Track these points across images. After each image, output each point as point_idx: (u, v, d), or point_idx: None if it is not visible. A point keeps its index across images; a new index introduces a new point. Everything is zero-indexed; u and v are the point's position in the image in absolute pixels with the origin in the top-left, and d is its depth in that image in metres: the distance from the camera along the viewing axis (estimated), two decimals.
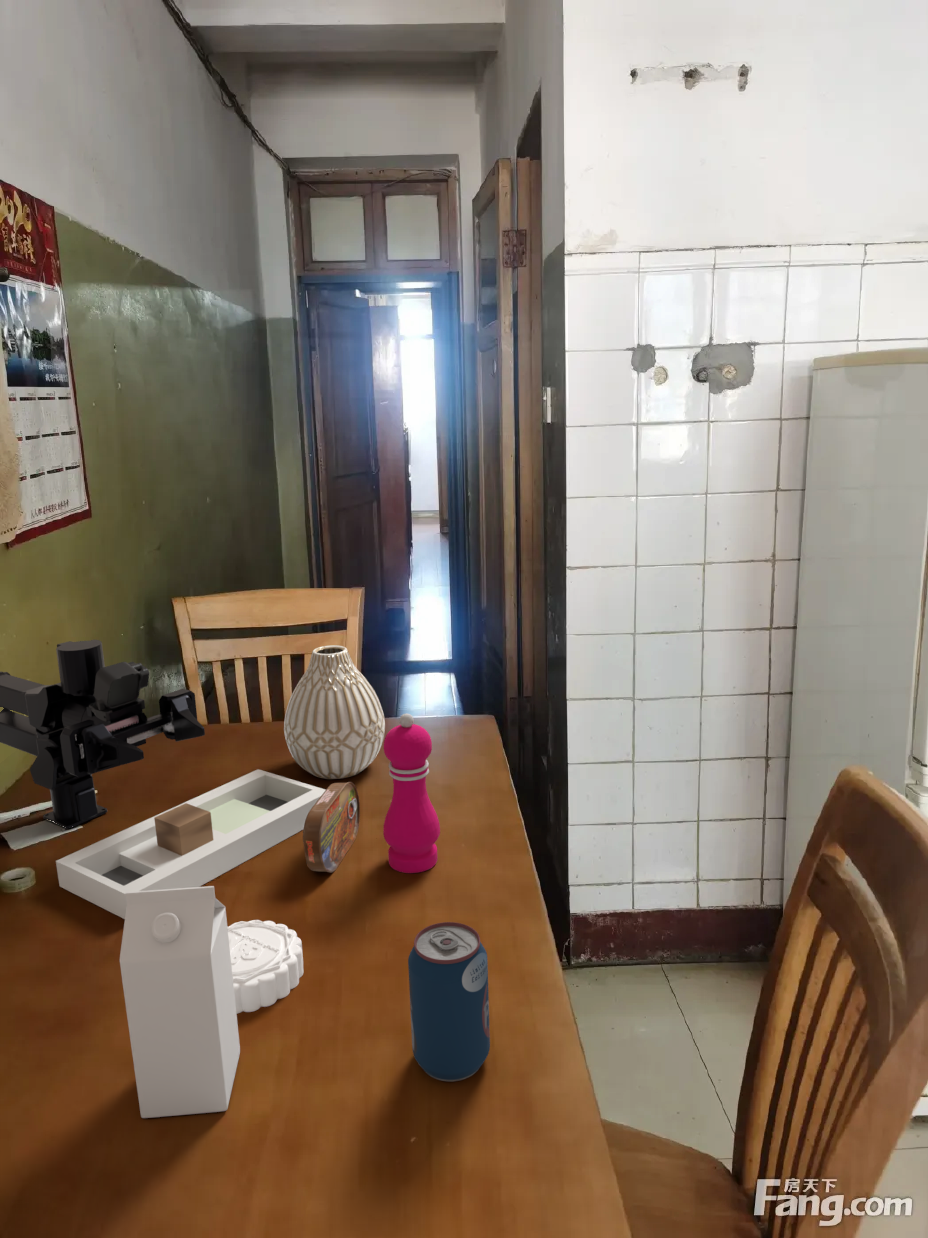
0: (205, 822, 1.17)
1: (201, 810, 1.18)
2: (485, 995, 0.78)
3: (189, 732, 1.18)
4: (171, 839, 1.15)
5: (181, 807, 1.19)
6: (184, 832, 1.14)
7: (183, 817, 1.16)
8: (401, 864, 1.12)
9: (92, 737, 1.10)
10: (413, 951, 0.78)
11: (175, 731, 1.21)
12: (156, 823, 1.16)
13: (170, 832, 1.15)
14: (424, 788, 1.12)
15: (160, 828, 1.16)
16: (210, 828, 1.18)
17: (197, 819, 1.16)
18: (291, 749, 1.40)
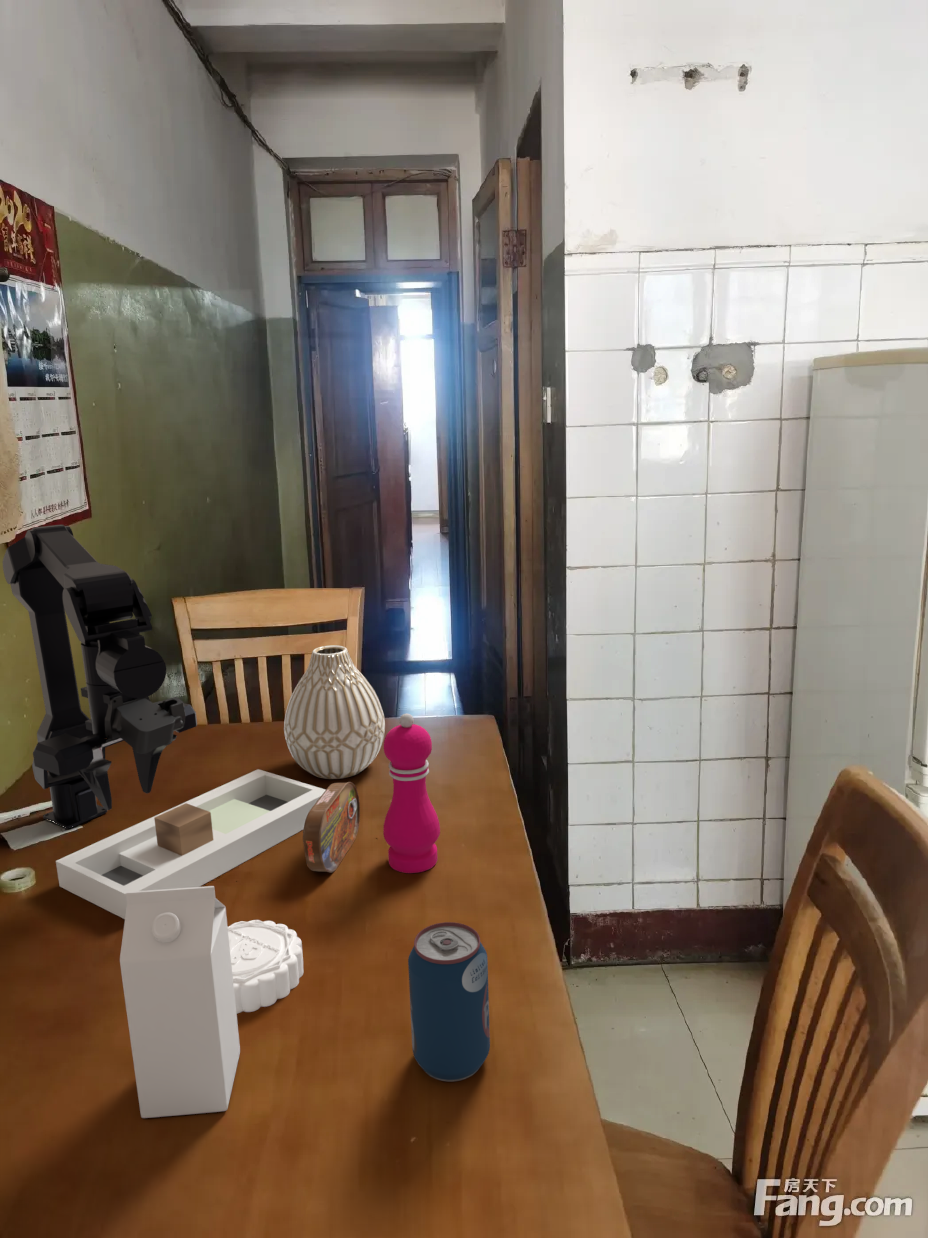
0: (205, 822, 1.17)
1: (201, 810, 1.18)
2: (485, 995, 0.78)
3: (140, 769, 1.11)
4: (171, 839, 1.15)
5: (181, 807, 1.19)
6: (184, 832, 1.14)
7: (183, 817, 1.16)
8: (401, 864, 1.12)
9: None
10: (413, 951, 0.78)
11: None
12: (156, 823, 1.16)
13: (170, 832, 1.15)
14: (424, 788, 1.12)
15: (160, 828, 1.16)
16: (210, 828, 1.18)
17: (197, 819, 1.16)
18: (291, 749, 1.40)
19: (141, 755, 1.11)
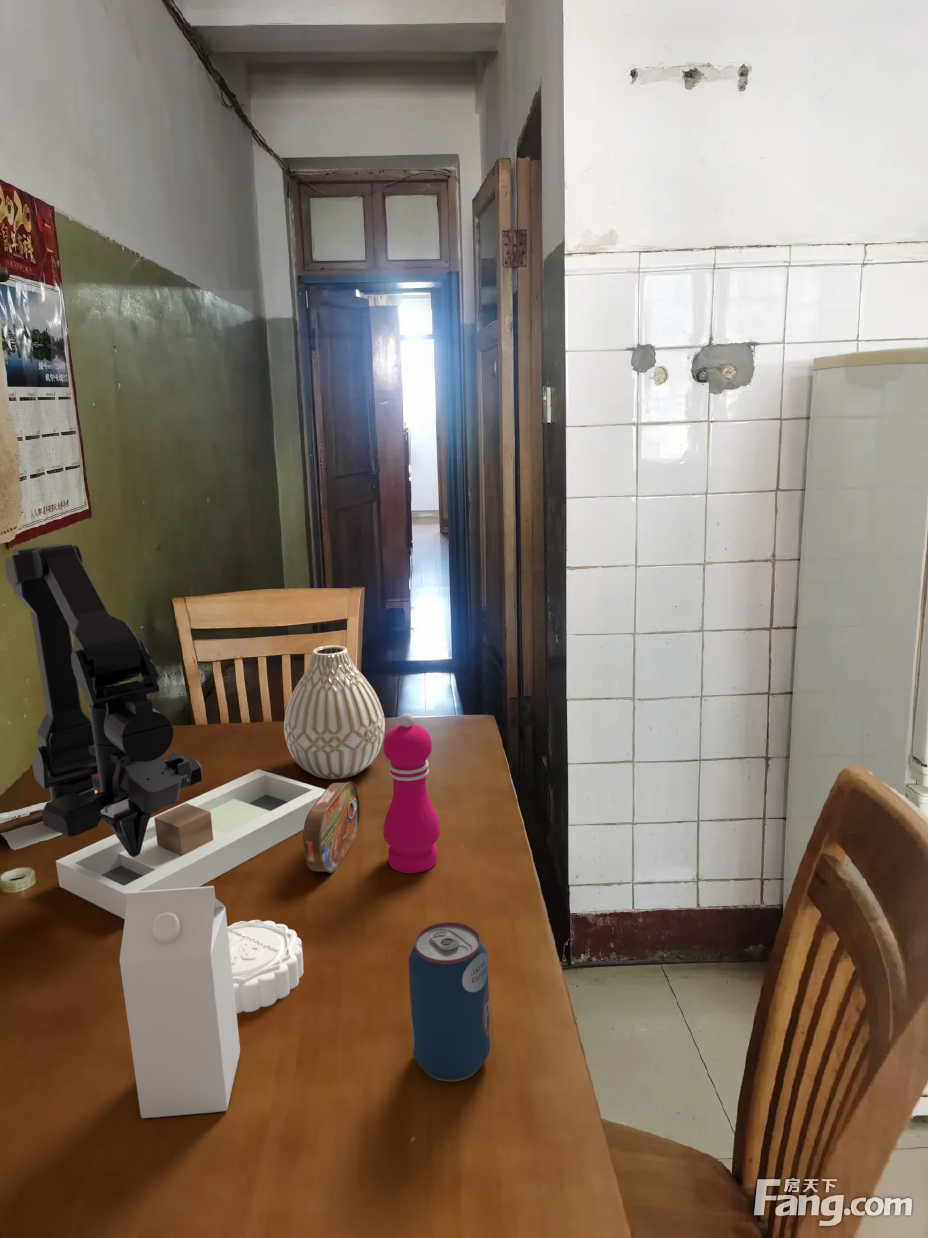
0: (205, 822, 1.17)
1: (201, 810, 1.18)
2: (485, 995, 0.78)
3: None
4: (171, 839, 1.15)
5: (181, 807, 1.19)
6: (184, 832, 1.14)
7: (183, 817, 1.16)
8: (401, 864, 1.12)
9: None
10: (413, 951, 0.78)
11: None
12: (156, 823, 1.16)
13: (170, 832, 1.15)
14: (424, 788, 1.12)
15: (160, 828, 1.16)
16: (210, 828, 1.18)
17: (197, 819, 1.16)
18: (291, 749, 1.40)
19: None
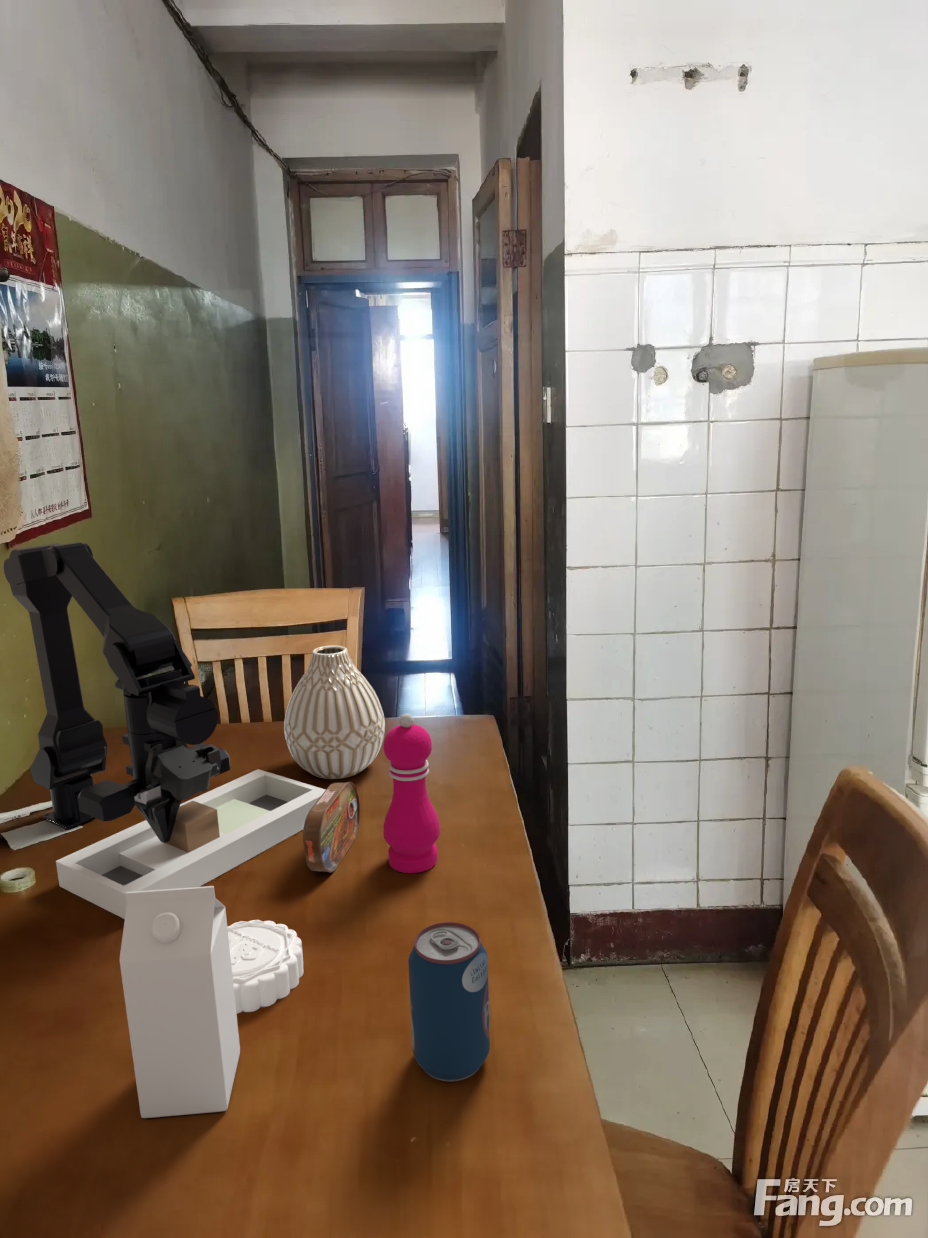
0: (211, 819, 1.18)
1: (208, 807, 1.19)
2: (485, 995, 0.78)
3: None
4: (178, 836, 1.16)
5: (188, 804, 1.20)
6: (190, 829, 1.15)
7: (189, 814, 1.17)
8: (401, 864, 1.12)
9: None
10: (413, 951, 0.78)
11: None
12: None
13: (177, 829, 1.15)
14: (424, 788, 1.12)
15: None
16: (216, 825, 1.18)
17: (203, 816, 1.16)
18: (291, 749, 1.40)
19: None
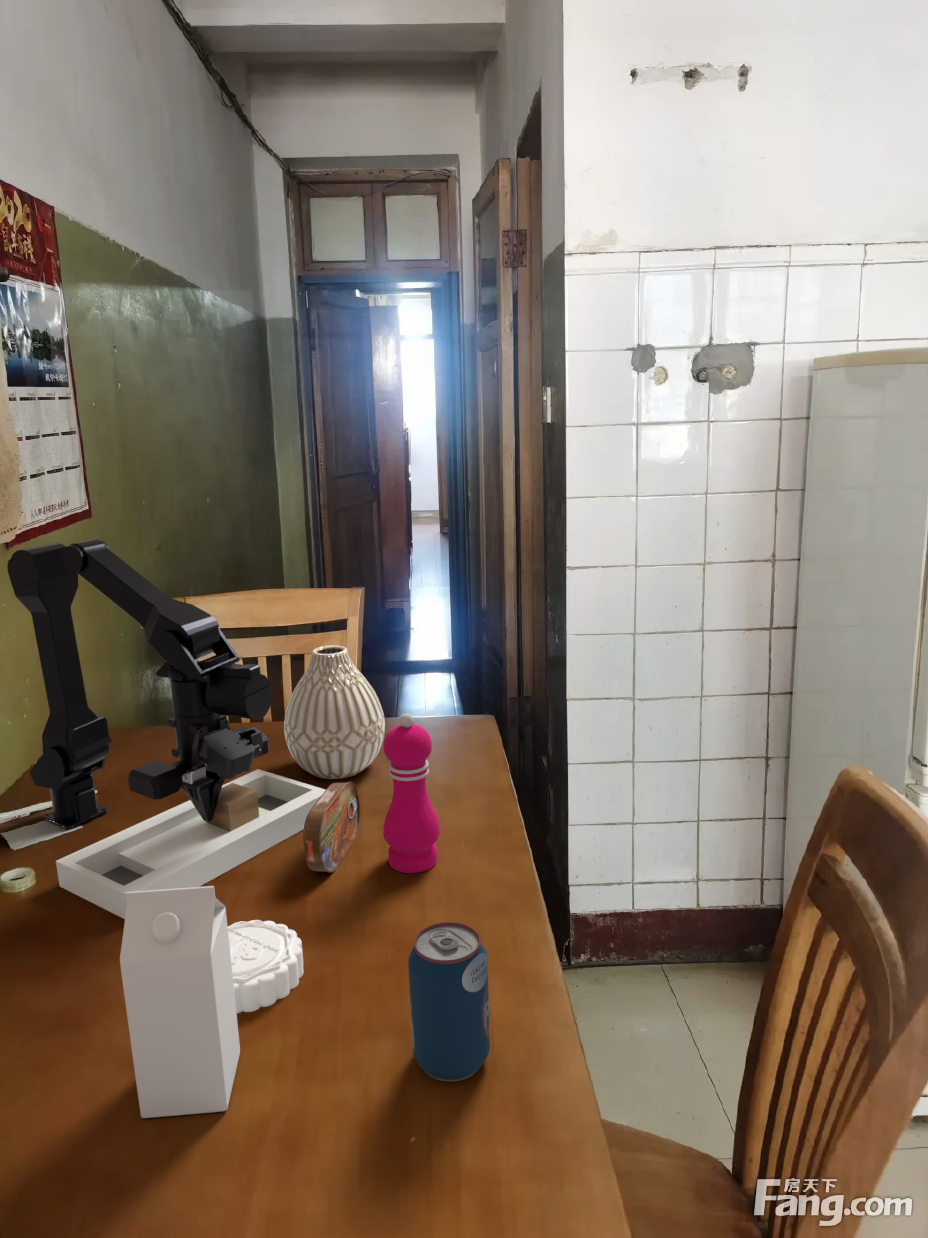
0: (252, 800, 1.23)
1: (248, 789, 1.24)
2: (485, 995, 0.78)
3: None
4: (220, 816, 1.21)
5: (228, 786, 1.25)
6: (233, 809, 1.20)
7: (231, 795, 1.22)
8: (401, 864, 1.12)
9: None
10: (413, 951, 0.78)
11: None
12: None
13: (220, 810, 1.21)
14: (424, 788, 1.12)
15: None
16: (256, 806, 1.24)
17: (244, 797, 1.22)
18: (291, 749, 1.40)
19: None
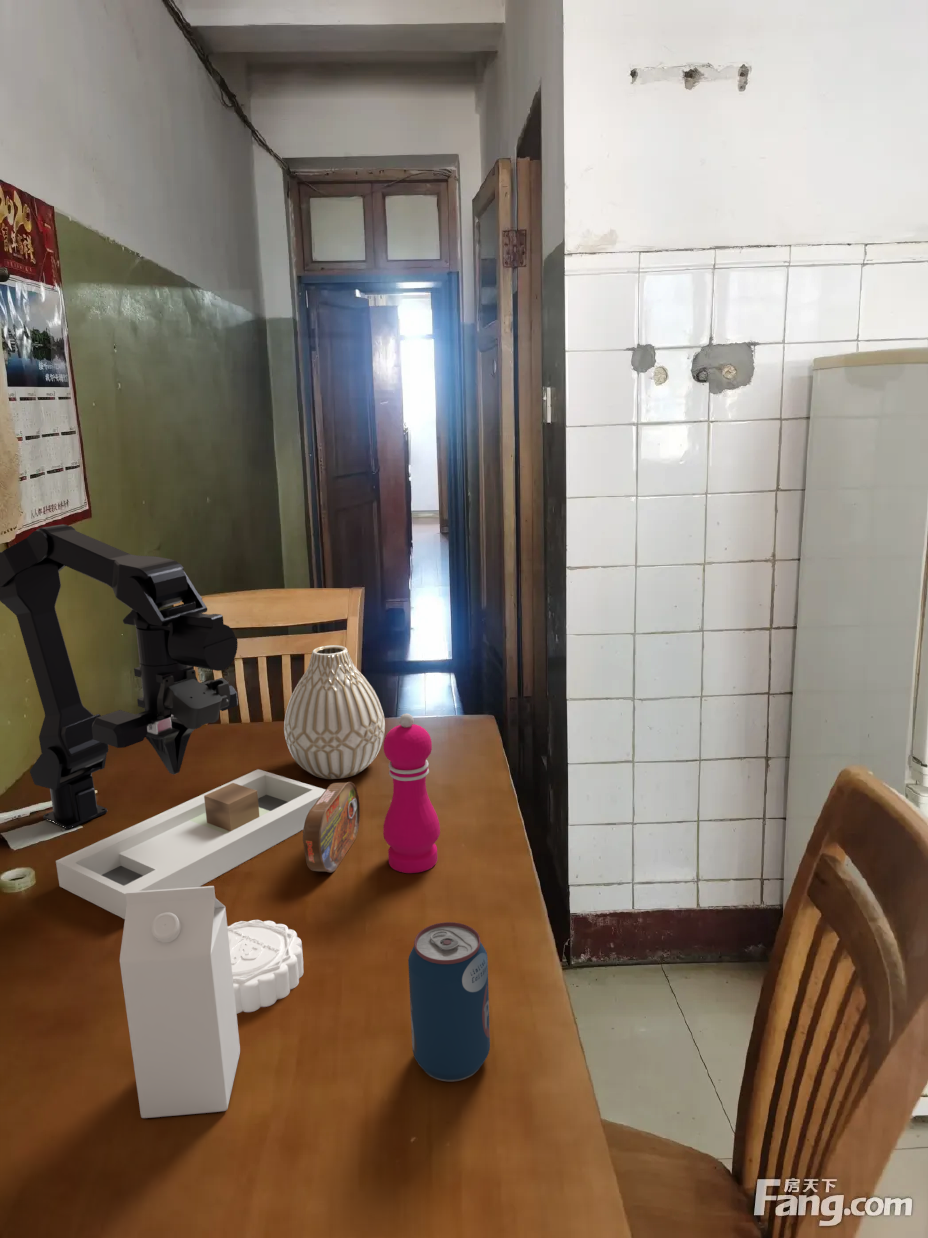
0: (252, 800, 1.23)
1: (248, 789, 1.24)
2: (485, 995, 0.78)
3: None
4: (220, 816, 1.21)
5: (229, 786, 1.25)
6: (233, 809, 1.20)
7: (231, 795, 1.22)
8: (401, 864, 1.12)
9: None
10: (413, 951, 0.78)
11: None
12: (206, 801, 1.22)
13: (220, 809, 1.21)
14: (424, 788, 1.12)
15: (209, 805, 1.22)
16: (256, 806, 1.24)
17: (245, 796, 1.22)
18: (291, 749, 1.40)
19: None
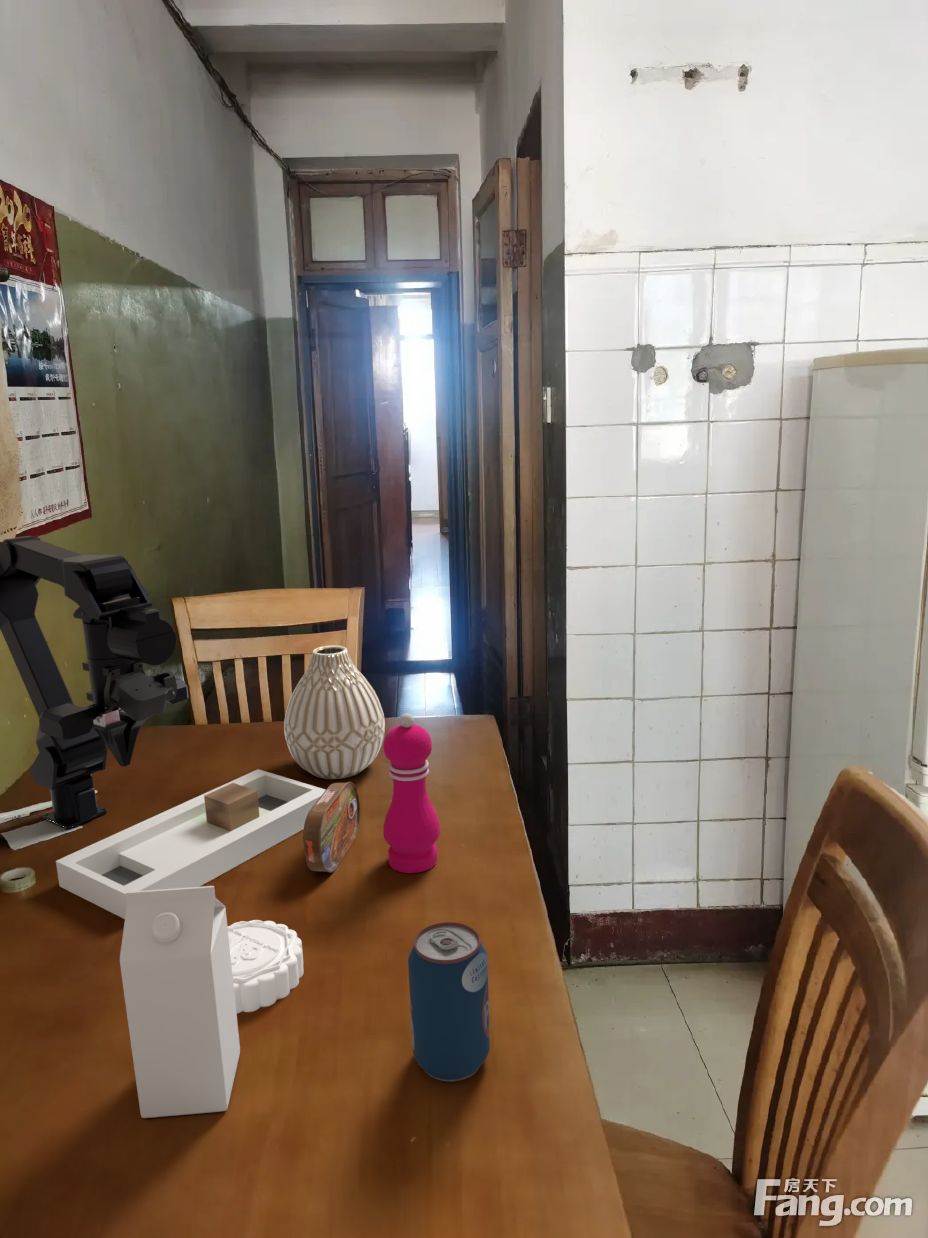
0: (252, 800, 1.23)
1: (248, 789, 1.24)
2: (485, 995, 0.78)
3: None
4: (220, 816, 1.21)
5: (229, 786, 1.25)
6: (233, 809, 1.20)
7: (231, 795, 1.22)
8: (401, 864, 1.12)
9: None
10: (413, 951, 0.78)
11: None
12: (206, 801, 1.22)
13: (220, 809, 1.21)
14: (424, 788, 1.12)
15: (209, 805, 1.22)
16: (256, 806, 1.24)
17: (245, 796, 1.22)
18: (291, 749, 1.40)
19: None
